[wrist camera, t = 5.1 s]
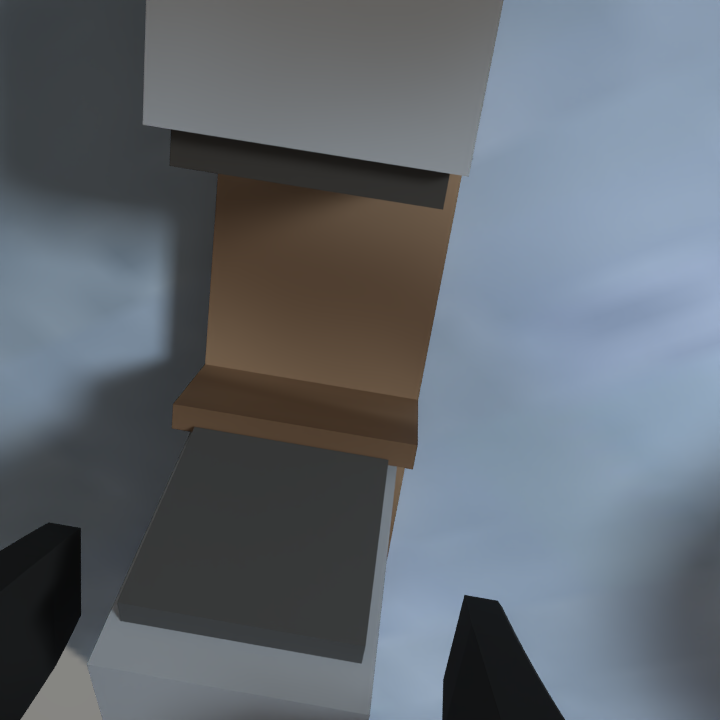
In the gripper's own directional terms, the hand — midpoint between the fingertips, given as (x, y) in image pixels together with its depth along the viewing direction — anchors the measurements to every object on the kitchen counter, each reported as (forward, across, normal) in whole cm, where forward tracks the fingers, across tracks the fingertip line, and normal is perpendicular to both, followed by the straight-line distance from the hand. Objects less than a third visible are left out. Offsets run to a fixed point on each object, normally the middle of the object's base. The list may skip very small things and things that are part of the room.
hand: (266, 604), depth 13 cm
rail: (+4, 0, -5) cm, 6 cm away
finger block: (+2, 0, -1) cm, 2 cm away
